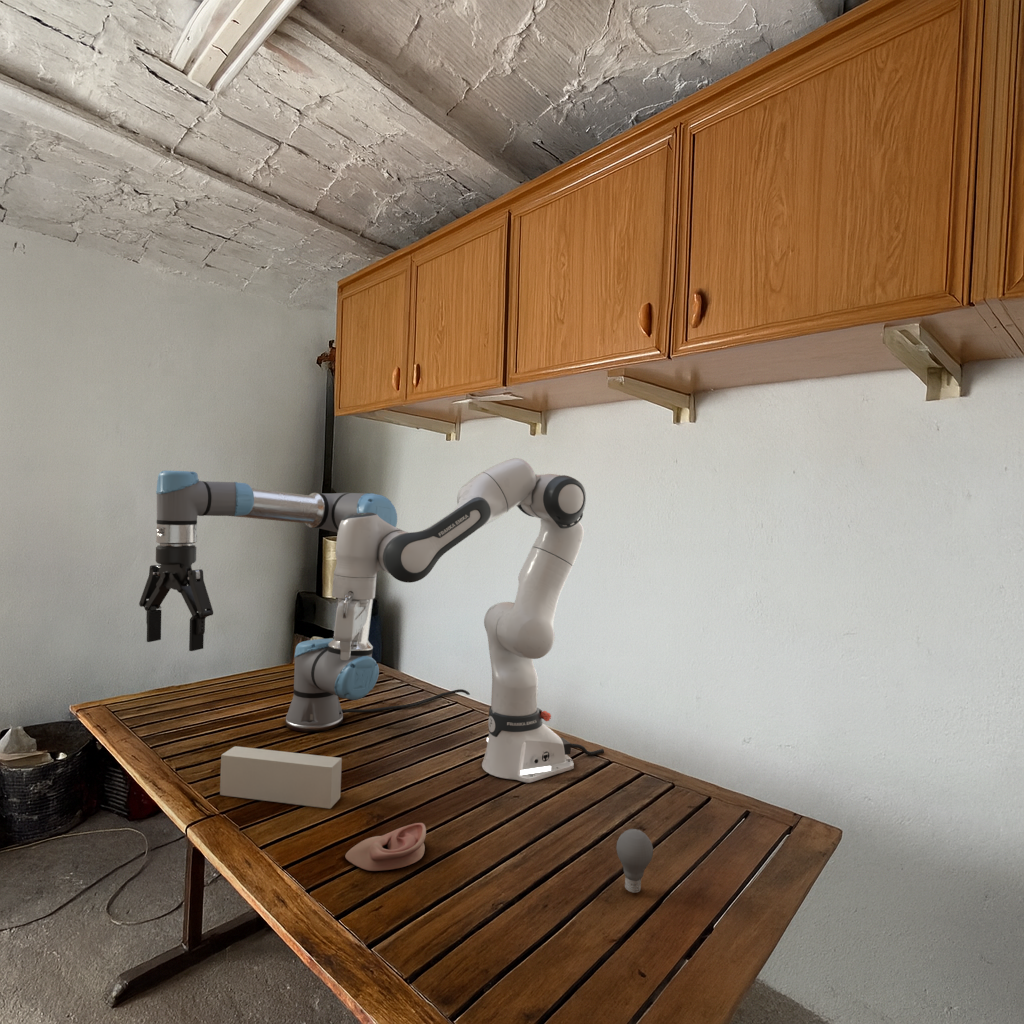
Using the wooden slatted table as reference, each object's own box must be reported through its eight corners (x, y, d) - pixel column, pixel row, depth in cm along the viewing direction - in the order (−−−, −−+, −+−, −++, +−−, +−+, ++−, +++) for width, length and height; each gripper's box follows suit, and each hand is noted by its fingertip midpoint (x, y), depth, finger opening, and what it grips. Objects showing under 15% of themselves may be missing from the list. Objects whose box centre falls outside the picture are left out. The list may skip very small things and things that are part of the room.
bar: (219, 795, 133) (221, 754, 132) (233, 785, 137) (234, 745, 137) (330, 808, 129) (332, 767, 129) (340, 797, 134) (342, 757, 134)
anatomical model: (337, 842, 109) (366, 811, 120) (336, 865, 109) (365, 832, 120) (410, 854, 106) (432, 821, 117) (409, 878, 106) (432, 842, 118)
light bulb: (610, 879, 108) (613, 822, 108) (644, 879, 109) (647, 822, 109) (619, 902, 102) (622, 840, 102) (655, 901, 103) (658, 840, 103)
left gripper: (121, 541, 135) (120, 640, 135) (200, 549, 124) (198, 657, 124) (155, 539, 141) (153, 634, 142) (233, 547, 130) (230, 649, 131)
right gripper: (362, 596, 124) (356, 667, 124) (375, 583, 144) (370, 644, 144) (329, 594, 123) (323, 665, 123) (347, 581, 143) (342, 642, 143)
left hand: (174, 645), depth 133 cm, fingers open, 13 cm apart
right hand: (349, 654), depth 134 cm, fingers open, 8 cm apart
